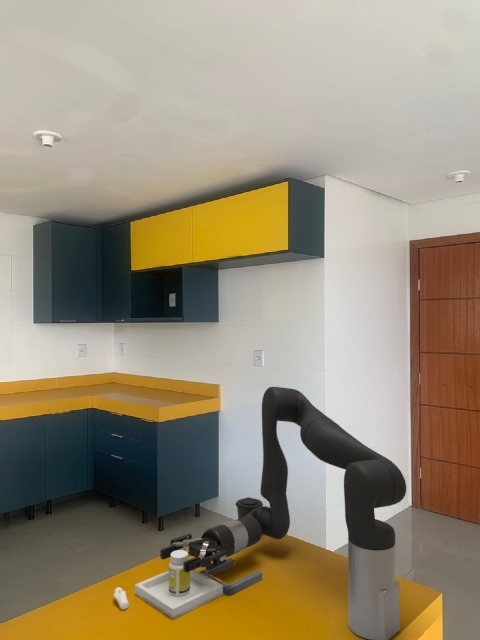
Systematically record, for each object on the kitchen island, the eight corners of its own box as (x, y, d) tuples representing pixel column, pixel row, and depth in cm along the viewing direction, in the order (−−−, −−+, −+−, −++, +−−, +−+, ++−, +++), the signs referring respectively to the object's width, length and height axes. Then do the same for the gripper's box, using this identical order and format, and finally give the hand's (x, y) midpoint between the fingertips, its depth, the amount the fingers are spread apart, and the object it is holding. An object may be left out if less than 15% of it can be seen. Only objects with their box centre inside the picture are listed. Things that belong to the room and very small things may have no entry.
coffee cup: (250, 526, 152) (250, 493, 153) (268, 535, 146) (268, 500, 146) (229, 533, 147) (229, 499, 148) (247, 542, 141) (247, 506, 141)
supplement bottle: (191, 586, 116) (192, 549, 116) (187, 597, 111) (187, 558, 111) (171, 585, 116) (171, 548, 116) (166, 596, 112) (166, 557, 112)
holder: (262, 579, 121) (262, 571, 121) (229, 596, 113) (229, 587, 113) (230, 563, 128) (230, 556, 128) (197, 578, 121) (197, 570, 121)
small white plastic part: (110, 613, 106) (110, 598, 106) (114, 598, 112) (114, 584, 112) (127, 612, 106) (128, 597, 107) (131, 597, 112) (131, 583, 112)
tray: (222, 594, 114) (222, 585, 114) (172, 619, 104) (172, 609, 104) (184, 572, 124) (184, 564, 124) (135, 593, 114) (135, 584, 114)
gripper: (206, 516, 129) (153, 534, 118) (246, 533, 119) (192, 554, 107) (206, 546, 129) (153, 567, 117) (246, 565, 119) (192, 590, 107)
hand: (172, 561), depth 112 cm, fingers open, 8 cm apart
